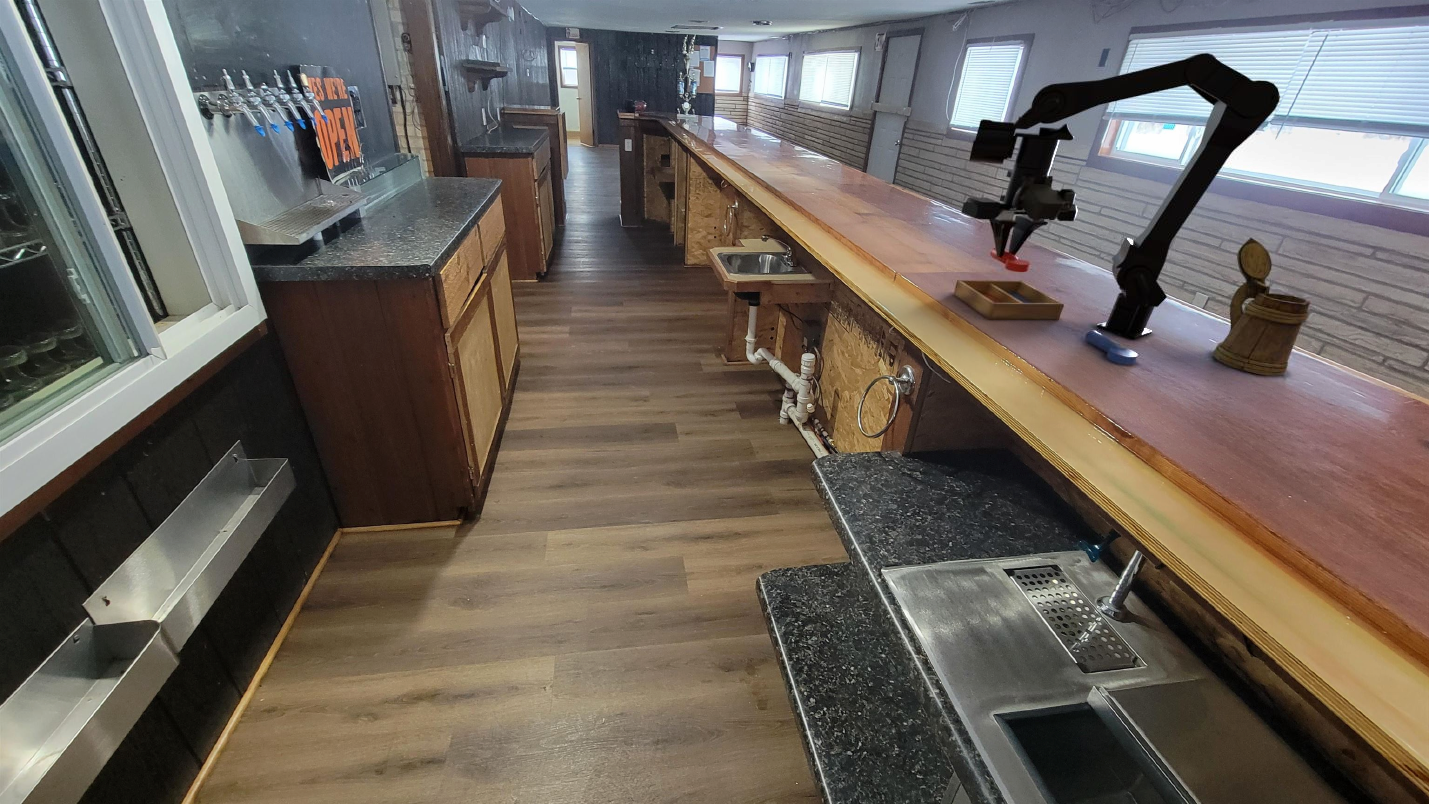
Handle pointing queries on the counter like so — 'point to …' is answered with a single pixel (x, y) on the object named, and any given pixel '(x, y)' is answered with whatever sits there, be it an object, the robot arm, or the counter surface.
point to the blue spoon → (1111, 348)
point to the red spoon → (1011, 261)
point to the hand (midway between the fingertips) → (1004, 257)
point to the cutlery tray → (1007, 299)
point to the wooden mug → (1260, 319)
